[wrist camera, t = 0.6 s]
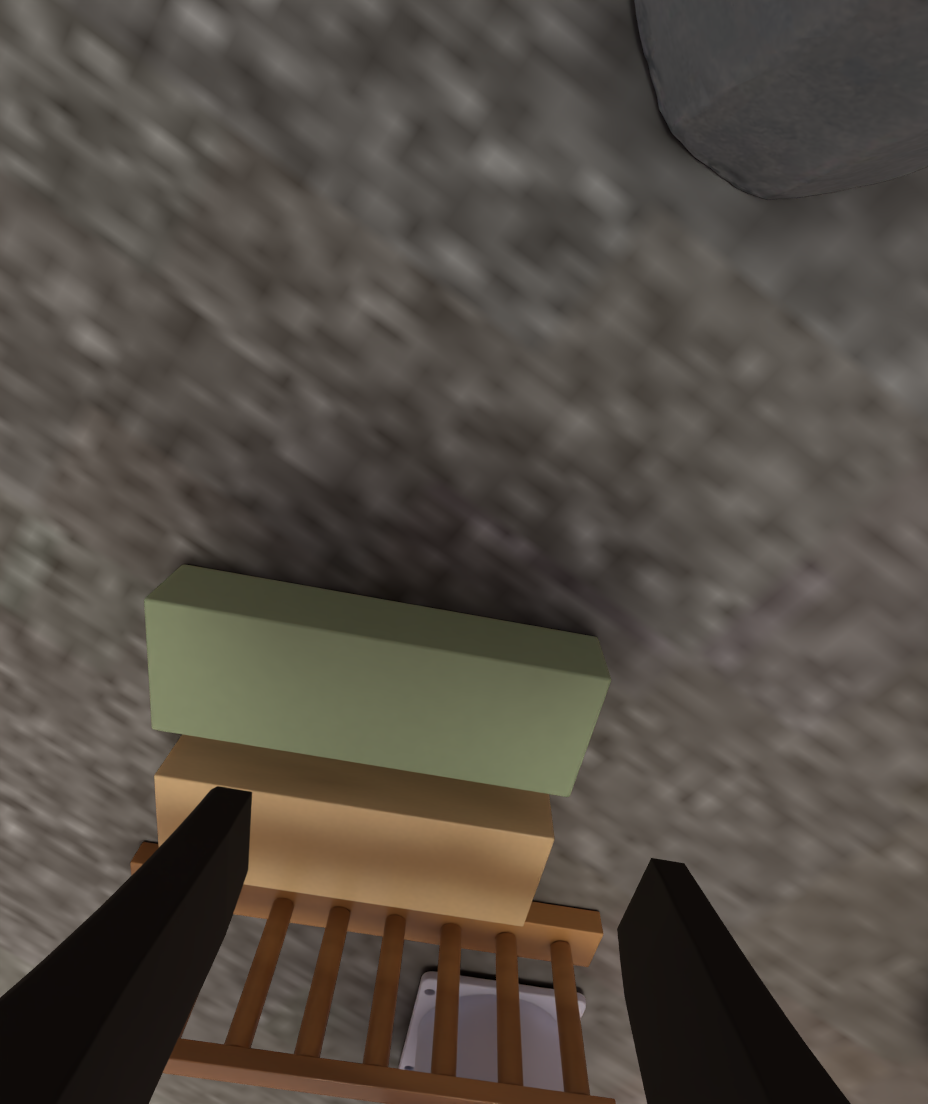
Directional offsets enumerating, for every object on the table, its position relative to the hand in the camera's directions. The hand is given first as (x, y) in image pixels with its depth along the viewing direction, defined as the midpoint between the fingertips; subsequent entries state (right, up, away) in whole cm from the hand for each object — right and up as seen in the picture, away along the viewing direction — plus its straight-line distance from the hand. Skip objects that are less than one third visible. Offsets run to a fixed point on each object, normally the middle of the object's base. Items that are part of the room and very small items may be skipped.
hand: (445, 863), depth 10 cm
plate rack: (-4, -10, +15) cm, 18 cm away
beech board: (-4, -4, +13) cm, 14 cm away
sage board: (-2, +2, +10) cm, 10 cm away
